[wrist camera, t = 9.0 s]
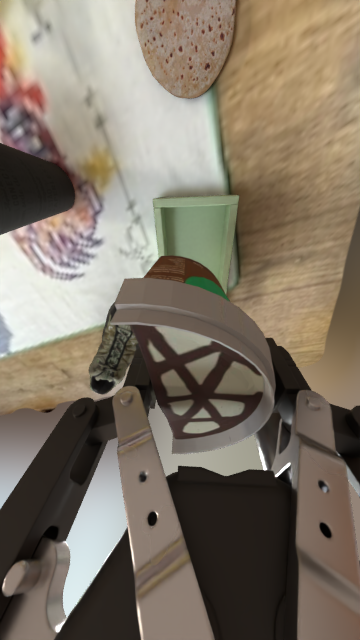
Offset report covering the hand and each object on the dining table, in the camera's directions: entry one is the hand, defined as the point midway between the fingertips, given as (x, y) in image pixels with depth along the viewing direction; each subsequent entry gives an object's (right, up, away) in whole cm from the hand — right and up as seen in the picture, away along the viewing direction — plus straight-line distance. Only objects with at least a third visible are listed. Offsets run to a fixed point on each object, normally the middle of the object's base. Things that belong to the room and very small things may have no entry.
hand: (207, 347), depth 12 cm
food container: (0, +4, +5) cm, 6 cm away
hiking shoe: (-13, -1, +24) cm, 27 cm away
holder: (0, +11, +14) cm, 18 cm away
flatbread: (-2, +26, +3) cm, 26 cm away
